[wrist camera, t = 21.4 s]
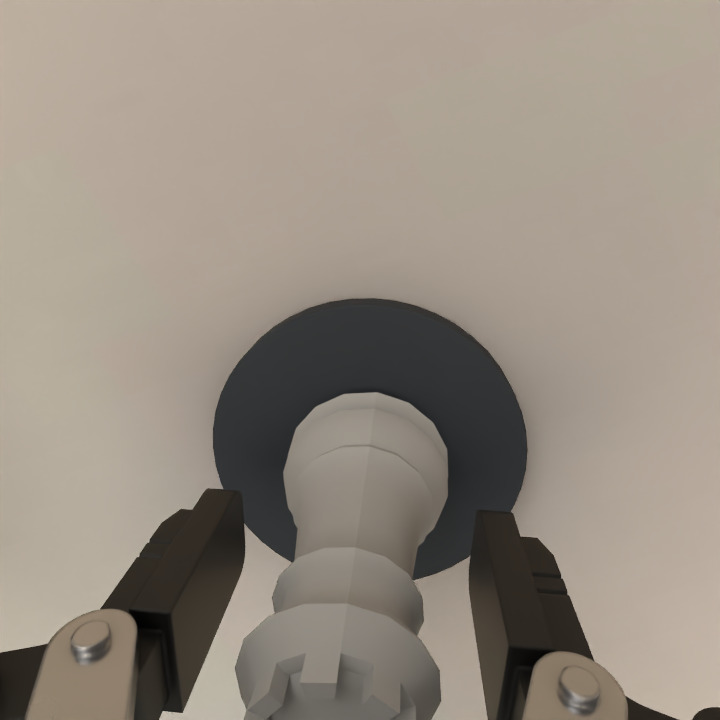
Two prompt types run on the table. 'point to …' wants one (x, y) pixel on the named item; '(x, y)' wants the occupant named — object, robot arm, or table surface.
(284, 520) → the slate coaster
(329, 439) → the rook chess piece
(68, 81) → the table surface
